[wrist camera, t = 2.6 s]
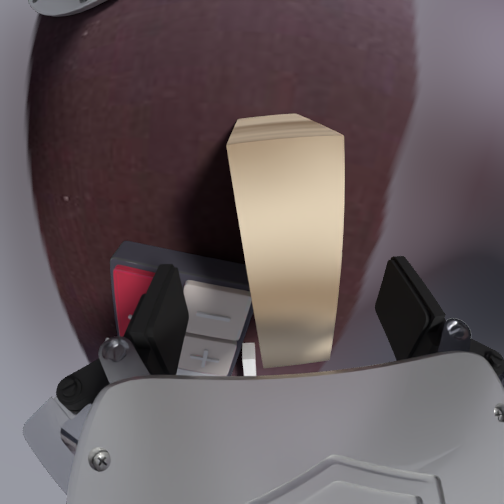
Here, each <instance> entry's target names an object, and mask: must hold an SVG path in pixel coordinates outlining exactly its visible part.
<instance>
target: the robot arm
mask: <svg viewBox="0 0 504 504" xmlns="http://www.w3.org/2000/svg"><path fill="white" fill-rule="evenodd" d="M105 1H107V0H28V2H29V4H30V6H31V7H32V8H33V9H34V10H35V11H36V12H37V13H40V14H43V15H47V16H54V17H60V16H69V15H73V14H77V13H81V12H83V11H85V10H88V9H91V8H93V7H95V6H97V5H99V4H101V3H103V2H105ZM375 310H376V313H377V315H378V317H379V320H380V322H381V324H382V326H383V329H384V331H385V333H386V336H387V338H388V340H389V342H390V345H391V347H392V350H393V352H394V354H395V357H396V360H397V361H394V362H388V363H383V364H377V365H371V366H364V367H357V368H350V369H342V370H334V371H326V372H315V373H303V374H289V375H270V376H189V375H176V374H177V369H178V364H179V360H180V355H181V351H182V346H183V342H184V338H185V333H186V329H187V325H188V321H189V312H188V308H187V304H186V300H185V296H184V292H183V288H182V284H181V279H180V275H179V271H178V268H177V267H174V265H173V264H160V265H159V266H158V269H157V271H156V273H155V275H154V277H153V279H152V281H151V283H150V286H149V288H148V290H147V292H146V294H145V293H144V294H142V296H141V298H140V300H139V302H138V304H137V306H136V309H135V311H134V313H133V315H132V318H131V320H130V322H129V324H128V327H127V329H126V331H125V334H124V336H123V337H122V336H115V337H112V338H109V339H108V340H106V341H105V342H104V343H103V344H102V345H101V347H100V349H99V353H98V354H99V359H97V360H96V361H94V362H92V363H90V364H89V365H87V366H85V367H83V368H82V369H80V370H78V371H76V372H74V373H73V374H71V375H69V376H67V377H65V378H64V379H63V380H61V382H60V383H59V384H58V387H57V391H56V395H57V396H56V397H55V398H54V399H53V398H52V397H51V398H50V399H48V401H46V402H45V404H43V405H42V406H41V407H40V408H39V409H38V410H37V411H36V412H35V413H34V414H33V415H32V416H31V417H30V418H29V419H28V420H27V422H26V423H25V424H24V427H23V435H24V437H25V440H26V441H27V443H28V444H29V446H30V447H31V449H32V450H33V452H34V453H35V455H36V456H37V458H38V459H39V460H40V462H41V463H42V465H43V466H44V467H45V468H46V470H47V471H48V473H49V474H50V475H51V477H52V478H53V479H54V480H55V482H56V483H57V484H58V485H59V487H60V488H61V489H62V490H63V491H64V492H65V493H66V495H67V501H66V504H504V359H503V357H502V356H501V355H500V354H499V353H498V352H496V351H495V350H493V349H491V348H489V347H487V346H485V345H483V344H481V343H479V342H477V341H475V340H473V339H471V331H470V328H469V327H468V325H467V324H466V323H464V322H463V321H461V320H459V319H456V318H451V319H448V320H447V321H446V320H445V318H444V317H445V313H444V312H443V310H442V309H441V307H440V305H439V304H438V302H437V301H436V300H435V298H434V297H433V295H432V294H431V292H430V291H429V289H428V288H427V287H426V285H425V284H424V282H423V281H422V279H421V278H420V277H419V275H418V274H417V273H416V271H415V270H414V269H413V268H412V266H411V265H410V263H409V262H408V261H407V259H406V258H405V257H404V256H397V257H392V258H391V260H389V261H388V263H387V266H386V270H385V274H384V277H383V281H382V284H381V288H380V291H379V295H378V298H377V301H376V305H375Z"/></svg>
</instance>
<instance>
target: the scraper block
mask: <svg viewBox="0 0 504 504" xmlns="http://www.w3.org/2000/svg"><path fill="white" fill-rule="evenodd" d="M226 147H227V153H228V159H229V165H230V172H231V178H232V184H233V190H234V196H235V203H236V209H237V215H238V221H239V227H240V233H241V239H242V245H243V251H244V257H245V263H246V269H247V275H248V281H249V287H250V292H251V298H252V304H253V310H254V316H255V322H256V327H257V333H258V339H259V344H260V350H261V356H262V362H263V367H264V368H270V367H280V366H289V365H297V364H305V363H312V362H319V361H325V360H329V359H330V353H331V347H332V340H333V333H334V326H335V318H336V310H337V302H338V292H339V282H340V271H341V258H342V243H343V224H344V186H345V166H344V135H342V134H340V133H338V132H336V131H334V130H332V129H329V128H327V127H325V126H323V125H321V124H319V123H316V122H314V121H312V120H310V119H307V118H305V117H303V116H300V115H298V114H282V115H270V116H260V117H251V118H243V119H238V120H237V122H236V124H235V126H234V129H233V131H232V133H231V135H230V138H229V140H228V142H227V145H226Z"/></svg>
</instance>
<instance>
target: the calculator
mask: <svg viewBox="0 0 504 504" xmlns="http://www.w3.org/2000/svg"><path fill="white" fill-rule="evenodd" d="M160 264H173V265H174V267H177V268H178V271H179V275H180V279H181V284H182V288H183V292H184V296H185V300H186V304H187V308H188V312H189V321H188V325H187V329H186V333H185V338H184V342H183V346H182V351H181V355H180V360H179V364H178V369H177V374H176V375H189V376H231V375H232V372H233V369H234V366H235V363H236V361H237V358H238V355H239V352H240V349H241V346H242V343H243V340H244V337H245V335H246V332H247V329H248V326H249V323H250V320H251V317H252V314H253V311H254V310H253V304H252V298H251V292H250V287H249V281H248V275H247V269H246V265H245V264H240V263H235V262H230V261H225V260H220V259H215V258H209V257H204V256H199V255H194V254H189V253H184V252H179V251H174V250H170V249H165V248H160V247H155V246H150V245H145V244H140V243H135V242H131V241H124V242H123V243H122V244H121V245H120V246H119V248H118V249H117V250H116V252H115V253H114V254H113V256H112V257H111V259H110V271H111V285H112V296H113V305H114V314H115V321H116V329H117V335H118V336H122V337H123V336H124V334H125V331H126V329H127V327H128V324H129V322H130V320H131V318H132V315H133V313H134V311H135V309H136V306H137V304H138V302H139V300H140V298H141V296H142V294H144V293H145V294H146V292H147V290H148V288H149V286H150V283H151V281H152V279H153V277H154V275H155V273H156V271H157V269H158V266H159V265H160Z"/></svg>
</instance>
